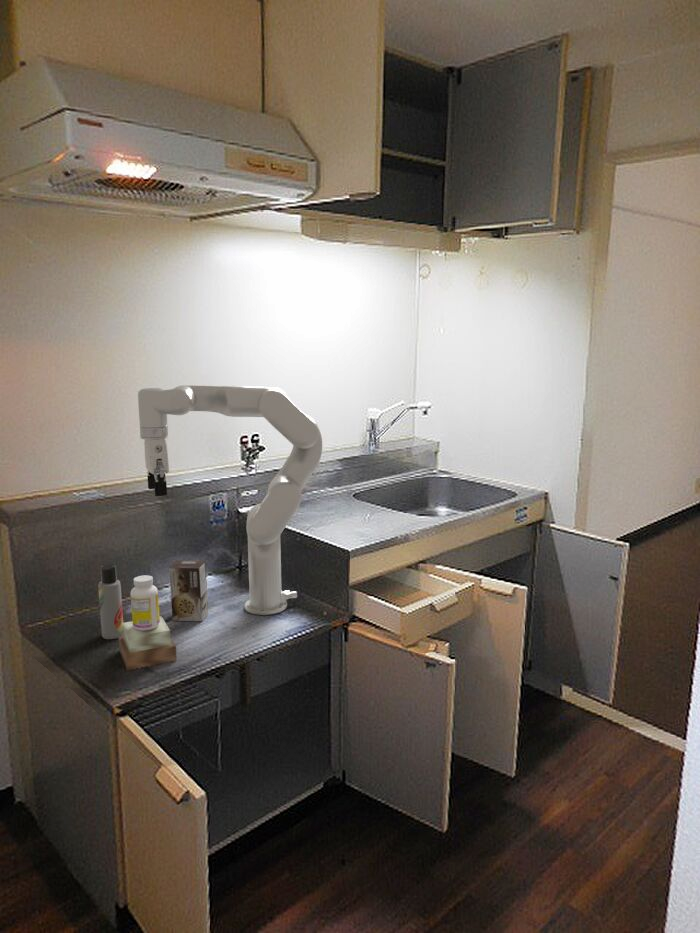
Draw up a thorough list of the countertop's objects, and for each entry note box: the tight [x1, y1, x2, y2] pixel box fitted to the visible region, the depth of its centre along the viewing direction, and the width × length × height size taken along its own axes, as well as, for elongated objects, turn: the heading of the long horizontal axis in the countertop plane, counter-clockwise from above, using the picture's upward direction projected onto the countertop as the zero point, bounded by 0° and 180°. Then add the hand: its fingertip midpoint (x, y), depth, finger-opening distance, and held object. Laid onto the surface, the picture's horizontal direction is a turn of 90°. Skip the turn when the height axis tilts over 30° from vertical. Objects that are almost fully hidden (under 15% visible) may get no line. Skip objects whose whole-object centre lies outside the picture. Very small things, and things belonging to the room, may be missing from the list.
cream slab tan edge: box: [118, 615, 177, 671], centre depth 185 cm, size 12×12×8 cm
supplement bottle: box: [130, 574, 161, 631], centre depth 183 cm, size 7×7×13 cm
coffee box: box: [168, 560, 209, 622], centre depth 208 cm, size 9×6×16 cm
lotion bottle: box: [97, 563, 124, 640], centre depth 196 cm, size 6×6×20 cm
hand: (157, 492), depth 206 cm, fingers open, 9 cm apart
